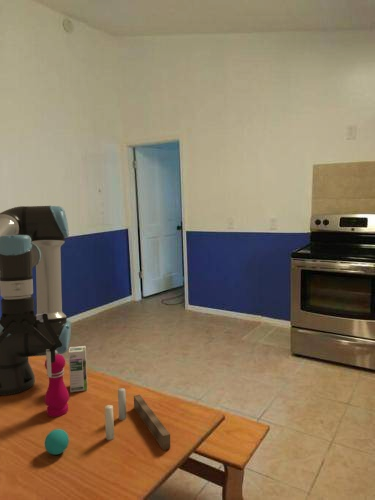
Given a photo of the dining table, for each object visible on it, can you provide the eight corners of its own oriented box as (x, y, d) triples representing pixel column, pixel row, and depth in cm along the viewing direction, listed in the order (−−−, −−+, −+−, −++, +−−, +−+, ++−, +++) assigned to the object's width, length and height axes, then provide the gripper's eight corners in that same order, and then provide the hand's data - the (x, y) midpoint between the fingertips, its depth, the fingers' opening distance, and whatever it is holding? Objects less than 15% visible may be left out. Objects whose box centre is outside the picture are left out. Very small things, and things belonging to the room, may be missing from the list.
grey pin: (117, 417, 118) (117, 389, 117) (125, 415, 119) (124, 387, 118) (120, 420, 116) (119, 392, 115) (127, 418, 117) (126, 390, 116)
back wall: (134, 407, 123) (133, 396, 123) (140, 406, 124) (139, 394, 123) (163, 450, 102) (163, 436, 101) (170, 448, 103) (170, 434, 102)
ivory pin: (105, 436, 108) (103, 406, 107) (112, 434, 109) (111, 404, 108) (107, 440, 106) (106, 409, 105) (115, 438, 107) (113, 407, 106)
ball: (44, 449, 103) (42, 428, 102) (67, 442, 105) (66, 422, 105) (46, 462, 97) (45, 440, 97) (71, 455, 100) (70, 433, 99)
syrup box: (70, 392, 133) (68, 352, 132) (71, 385, 139) (69, 346, 137) (87, 390, 135) (85, 350, 133) (87, 383, 140) (85, 344, 139)
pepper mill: (62, 419, 117) (59, 355, 115) (40, 416, 119) (37, 353, 116) (73, 406, 124) (71, 346, 122) (53, 404, 126) (50, 345, 123)
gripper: (-42, 304, 88) (-38, 396, 89) (71, 293, 99) (74, 375, 100) (-40, 299, 95) (-36, 385, 95) (66, 290, 106) (69, 367, 107)
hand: (20, 380), depth 98 cm, fingers open, 13 cm apart
